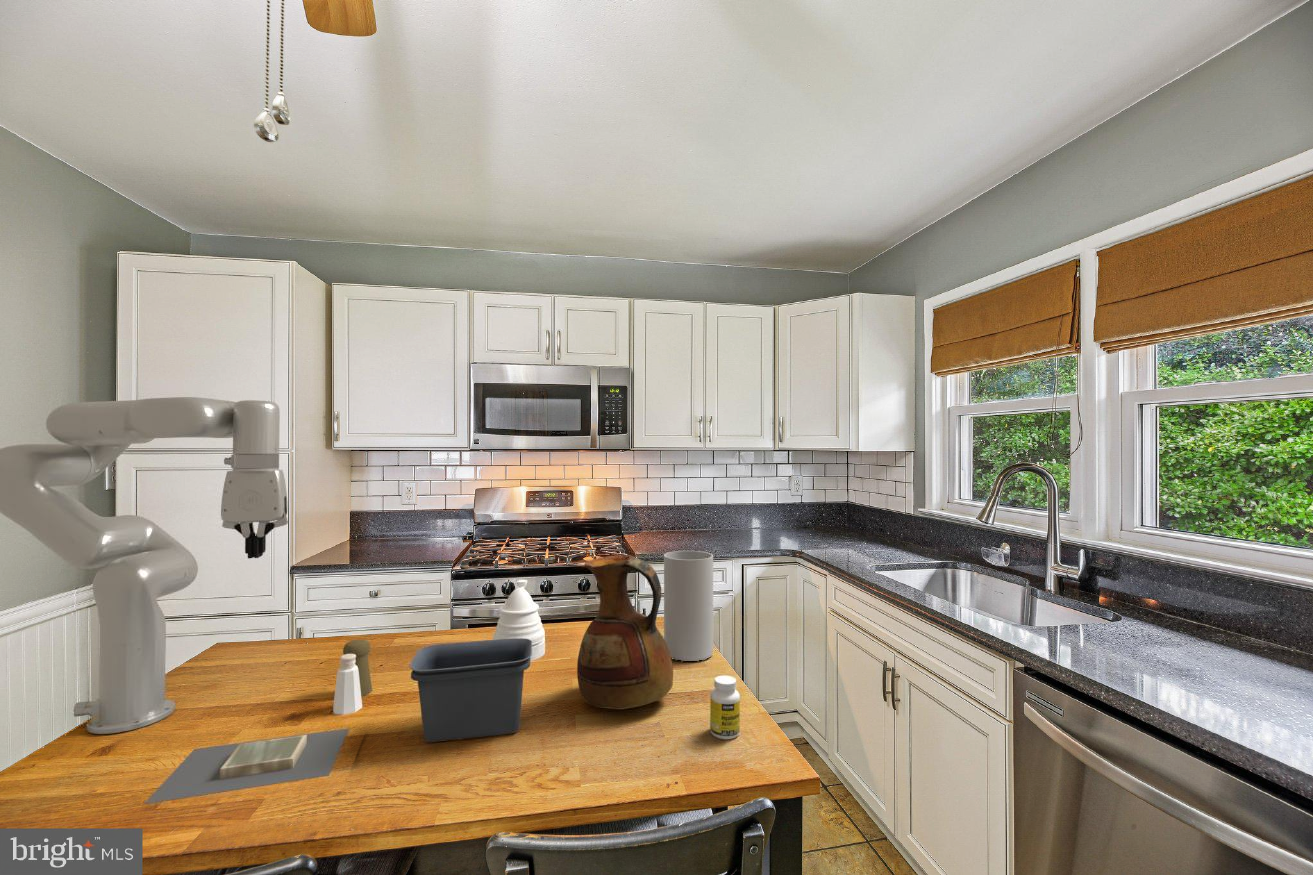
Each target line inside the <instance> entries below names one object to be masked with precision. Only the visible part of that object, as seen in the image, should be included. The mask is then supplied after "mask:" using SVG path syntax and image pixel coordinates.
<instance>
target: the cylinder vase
mask: <svg viewBox="0 0 1313 875" xmlns="http://www.w3.org/2000/svg"><path fill="white" fill-rule="evenodd" d="M663 638H664V640H665V642H666V644H667V647H668V649H669V652H670V656H671V658H673V659H672V660H674V659H675V660H674V661H677V660H681V661H680V662H683V661H697V662H700V661H699V660H702V661H705V660H708V659H710V658H711V656H712V655H713V653H714V554H712V553H710V552H707V551H700V550H697V551H696V550H677V551H676V550H675V551H674V550H673V551H669V552H666V553H664V554H663ZM707 658H708V659H707Z"/></svg>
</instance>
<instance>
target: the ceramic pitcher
mask: <svg viewBox="0 0 1313 875" xmlns="http://www.w3.org/2000/svg"><path fill="white" fill-rule="evenodd" d="M584 566H585V567H586V569H588V570H589V571H590V572H591V573H592V575H593V576H594V577H595V580H596V583H597V589H598V593H599V609H598V614H597V615H596V617H595V618H594V619H593V620H592V621H591V622H590V623H589V625H588V626H587V629H586V630H585V632H584V635H583V636H582V639H581V643H580V647H579V652H578V656H577V664H576V666H577V667H576V669H577V670H576V672H577V673H576V676H577V683H578V684H577V685H578V690H579V693H580V695H581V697H582V699H583V701H585V703H587V704H589V705H590V706H592V707H596V708H601V709H612V710H613V709H615V710H626V709H630V708H632V709H633V708H636V707H641V706H645V705H648V704H651V703H653V702H658V701H661V699H663V698H664V697H665V696H667V695H668V693H670V691H671V690H672V688H673V686H674V666H673V661H672V659H671V656H670V652H669V649H668V647H667V644H666V642H665V640H664V636H663V635H662V633H661V632H660V630H659V629H658V627H657V625H656V624H657V623H656V622H657V616H658V613H659V608H660V604H661V602H662V601H661V599H662V586H661V582H660V579H659V575H658V573H657V572H656V570H655V569H654V568H653V567H652V566H651V565H650V564H649V563H648V562H646V561H645V560H643V559H641V558H637V557H635V556H634V555H630V554H625V555H621V554H617V555H608V556H601V557H599V558H594V559H589V560H587V561H585V562H584ZM630 570H633V571H636V572H638V573H639V574H640V575H642V576H643V577H644V579H646V580H647V582H648V584H649V585H650V589H651V592H652V605H651V610H650V612H649V614H648V615H645V614H643V613H640V612H639V611H637V609H635V608H634V606H633V604H632V601H631V600H630V594H629V590H628V574H629V571H630Z"/></svg>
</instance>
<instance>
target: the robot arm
mask: <svg viewBox="0 0 1313 875" xmlns="http://www.w3.org/2000/svg"><path fill="white" fill-rule="evenodd" d="M280 416H281V414H280V407H279V405H278V404H277V403H276V402H274V401H270V400H252V399H249V400H246V399H245V400H240V401H232V400H224V399H223V400H222V399H214V398H207V397H196V396H177V397H153V398H152V397H151V398H142V399H132V400H131V399H130V400H109V401H108V400H107V401H80V402H72V403H65V404H62V405H60V406H58V407H57V408H54V409H53V410H52V411H51V412H50V413H49V414H48V416H47V417H46V421H45V427H46V430H47V431H48V433H49V434H50V436H51V437H53V438H54V439H55V440H57V441H58V442H61V444H60V443H59V444H58V443H56V444H53V443H52V444H51V443H49V444H47V443H39V444H38V443H35V444H34V443H32V444H31V443H29V444H28V443H25V444H17V445H10V446H5V447H2V448H0V514H1V515H3V516H5V517H6V518H7V519H9V520H11V521H12V522H14V523H16V524H17V525H19V527H22V528H23V529H25V530H26V531H27V532H29V533H30V534H31V535H32V536H33V537H34V538H35V539H37V540H38V541H39V542H41V544H43V545H44V546H45V547H47V548H48V549H49V550H51V551H52V552H53V553H54V554H55V555H57V556H58V557H60V558H61V559H62V560H63V561H64V562H66V563H67V564H69V565H70V566H72V567H74V568H77V569H81V570H90V569H96V568H97V569H98V568H100V569H99V570H98V571H97V572H96V574H95V575H94V578H93V580H92V581H93V582H92V592H93V598H94V602H95V605H96V609H97V615H98V624H99V625H98V626H99V627H98V628H99V631H98V632H99V634H98V635H99V636H98V637H99V638H98V639H99V640H98V641H99V648H98V649H99V650H98V651H99V656H98V657H99V658H98V659H99V661H98V663H99V664H98V668H99V669H98V698H97V699H96V700H92V701H90V700H87V701H78V702H76V703H75V704H74V707H73V717H83V716H89V717H90V719H89V720H88V721H90V720H92V719H94V718H95V717H97V718H96V719H94V720H92V721H91V722H89V723H88V722H87V723H88V724H87V723H86V731H87V732H89V733H91V734H95V735H108V734H117V733H124V732H127V731H132V730H136V729H140V728H144V727H146V726H149V725H152V724H155V723H157V722H160V721H162V720H164V719H165V718H167V717H169V716H170V715H171V714H172V713H173V712H174V711H175V710H176V702H175V701H174V700H171V699H169V698H168V699H167V698H166V661H167V660H166V649H167V648H166V646H167V645H166V644H167V639H166V638H167V631H166V630H167V629H166V628H167V625H166V617H165V614H164V612H163V610H162V608H161V607H160V605H159V603H158V601H157V600H158V599H159V598H161V597H164V596H165V597H166V596H167V595H171V594H174V593H177V592H179V591H181V590H184V589H186V588H188V586H190V585H191V584H192V583H193V582H194V581H195V580H196V577H197V575H198V571H199V570H198V569H199V567H198V561H197V560H196V558H195V556H194V555H193V553H192V552H191V551H190V550H189V549H188V548H187V547H185V546H184V545H183V544H181V543H180V542H179V541H178V540H177V539H175V538H174V537H173V536H171V535H170V534H169V533H168V532H167V531H165V530H164V529H162V527H160V526H159V525H158V524H156V523H155V522H154V521H152V520H150V519H148V518H146V517H143V516H140V515H136V514H135V515H134V514H129V515H128V514H123V515H115V516H114V515H113V516H100V515H99V514H96V513H95V512H93V511H92V510H90V509H89V508H87V507H86V506H85V505H84V504H83V503H82V502H81V501H79V500H77V499H76V498H74V497H72V496H70V495H67V494H66V493H63V492H60V491H58V490H56V489H53V487H54V488H55V487H67V486H77V485H83V484H86V483H89V482H91V481H92V480H94V479H96V478H97V477H99V475H101V474H102V473H103V472H105V471H106V469H107V468H108V467H110V465H111V464H112V463H113V462H114V461H115V460H117V459H118V457H120V456H121V455H122V454H123V453H124V452H125V451H126V450H127V449H128V448H129V447H130V446H131V445H133V444H140V445H141V444H147V443H150V442H152V441H153V440H155V439H173V438H174V439H176V438H177V439H178V438H213V439H232V454H231V456H230V457H224V459H223V463H224V465H226V466H227V465H228V466H231V469H232V470H227V472H226V473H225V478H224V481H223V488H222V497H221V502H220V503H221V505H220V519H221V521H222V525H221V526H222V528H224V529H229V530H236V531H237V532H238V533H239V534H241V536H242V537H243V539H244V553H245V554H247V559H253V558H254V559H258V558H261V557H262V556H263V555H264V553H265V552H266V549H267V547H266V546H267V545H266V544H267V542H266V541H267V540H266V539H267V535H268V534H269V533H270V532H271V531H273V530H274V529H275V528H276V529H277V528H280V527H284V526H285V525H286V526H287V524H289V523H288V522H289V521H288V517H287V514H288V494H287V493H288V492H287V485H286V479H285V474H284V471H283V469H280V424H281V423H280ZM62 443H64V444H62ZM254 523H258V524H257V530H256V532H255V527H254ZM101 714H102V715H101ZM99 715H101V716H99ZM98 716H99V717H98Z"/></svg>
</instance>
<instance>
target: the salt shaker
mask: <svg viewBox="0 0 1313 875" xmlns="http://www.w3.org/2000/svg"><path fill="white" fill-rule="evenodd" d="M355 658H356V655H355V654H345V655H344V654H343V655H341V656H340V657H339V660H340V667H339V668H338V669H337V673H336V681H335V682H336V683H335V690H334V696H333V697H334V698H333V707H332V711H333V715H339V716H340V715H342V716H344V715H348V714H352V713H353V714H354V713H356V712H358V711H359V710H360V709H362V708H363V700H362V697H361V690H360V680H359V671H358V667H357V666H356V665H355Z"/></svg>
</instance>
